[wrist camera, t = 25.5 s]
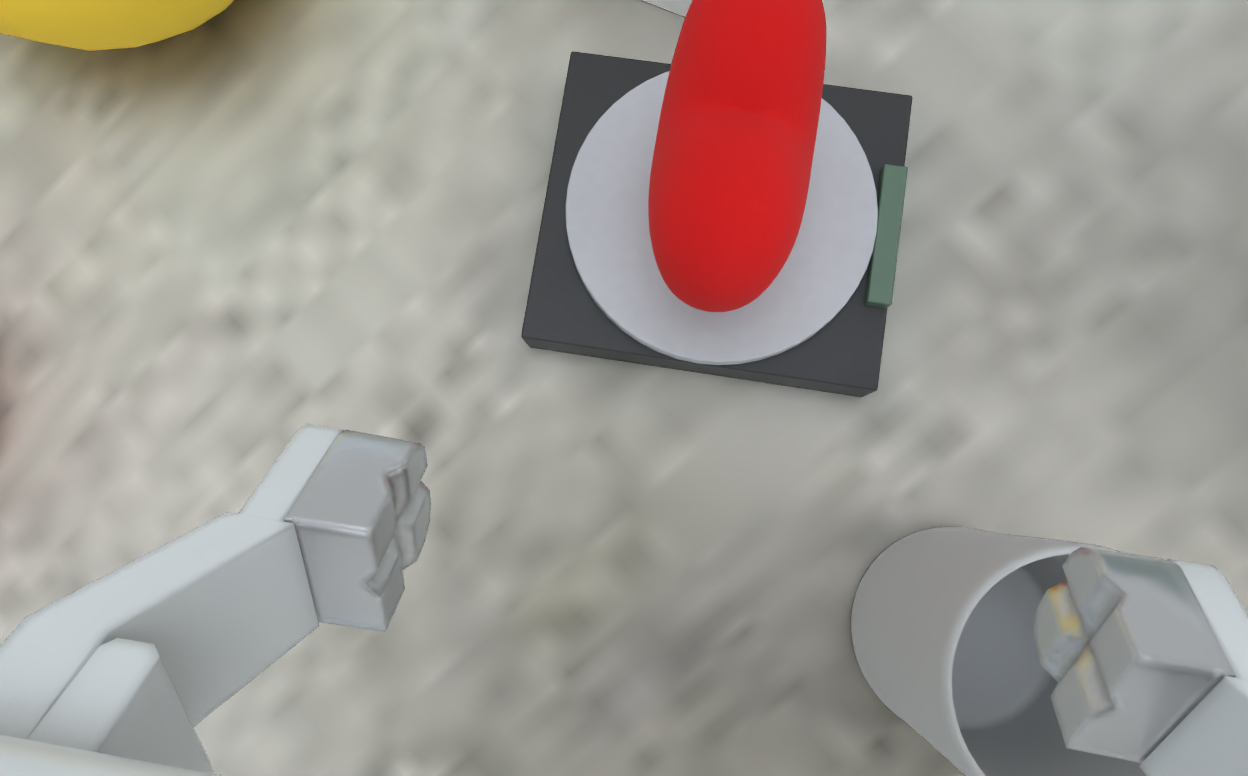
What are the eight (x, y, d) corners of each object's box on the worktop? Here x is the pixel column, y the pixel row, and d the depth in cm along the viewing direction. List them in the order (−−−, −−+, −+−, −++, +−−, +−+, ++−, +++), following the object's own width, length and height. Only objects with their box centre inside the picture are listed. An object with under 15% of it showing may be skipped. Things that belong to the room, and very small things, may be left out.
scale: (896, 120, 37) (919, 85, 34) (862, 397, 36) (883, 388, 33) (576, 77, 38) (569, 40, 35) (529, 347, 37) (517, 333, 33)
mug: (824, 693, 34) (905, 787, 23) (880, 499, 35) (983, 503, 24) (1105, 790, 33) (1325, 934, 23) (1155, 589, 34) (1389, 634, 24)
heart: (763, 356, 33) (811, 298, 23) (631, 335, 33) (623, 268, 23) (804, 87, 34) (866, -77, 24) (677, 69, 35) (687, -101, 25)
